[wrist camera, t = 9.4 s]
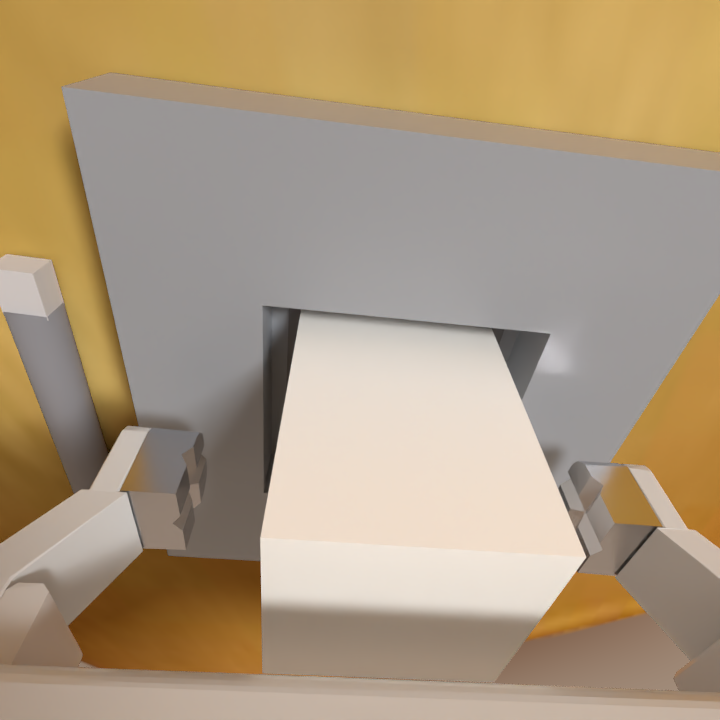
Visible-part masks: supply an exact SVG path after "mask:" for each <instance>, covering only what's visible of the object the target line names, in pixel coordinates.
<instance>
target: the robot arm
mask: <svg viewBox="0 0 720 720" xmlns="http://www.w3.org/2000/svg"><path fill="white" fill-rule="evenodd" d="M204 445H205V444H204V438H203V434H202V433H200V432H191V431H181V430H171V429H161V428H148V427H137V426H127V427H126V428H124V429H123V430H122V431H121V433H120V434H119V436H118V438H117V440H116V442H115V444H114V445H113V447H112V449H111V451H110V453H109V454H108V456H107V458H106V460H105V462H104V463H103V465H102V467H101V469H100V471H99V473H98V474H97V476H96V478H95V480H94V482H93V483H92V485H91V487H90V489H89V490H88V489H81V490H79V491H78V492H76V493H75V494H73V495H72V496H71V497H69V498H68V499H66V500H65V501H63V502H62V503H60V504H59V505H57V506H56V507H54V508H53V509H51V510H50V511H48V512H47V513H45V514H44V515H42V516H41V517H39V518H38V519H36V520H35V521H33V522H32V523H30V524H29V525H27V526H26V527H24V528H23V529H21V530H20V531H18V532H17V533H15V534H14V535H12V536H11V537H9V538H8V539H6V540H5V541H3V542H2V543H0V720H720V549H719V548H718V547H717V546H715V545H714V544H713V543H711V542H710V541H709V540H707V539H706V538H705V537H703V536H702V535H701V534H699V533H698V532H697V531H695V530H689V529H687V527H686V525H685V524H684V522H683V521H682V519H681V517H680V516H679V514H678V513H677V511H676V510H675V508H674V506H673V505H672V503H671V502H670V500H669V499H668V497H667V495H666V494H665V492H664V491H663V489H662V488H661V486H660V484H659V483H658V481H657V480H656V478H655V476H654V475H653V473H652V472H651V470H650V469H648V468H647V467H646V466H644V465H630V464H618V463H604V462H588V461H577V462H575V463H574V464H572V466H571V467H570V469H569V471H568V473H569V476H570V478H571V479H569V480H567V481H566V482H564V483H562V484H560V486H559V488H558V490H559V492H560V495H561V497H562V500H563V502H564V504H565V507H566V509H567V512H568V514H569V517H570V519H571V521H572V524H573V526H574V529H575V531H576V533H577V536H578V538H579V541H580V543H581V546H582V548H583V550H584V553H585V555H586V559H585V560H584V561H583V563H582V564H581V565H580V567H579V568H578V569H577V572H578V573H589V574H600V575H612V576H616V577H615V578H616V579H617V580H618V582H619V583H620V584H621V585H622V586H623V587H624V588H625V589H626V590H627V591H628V593H629V594H630V595H631V596H632V597H633V598H634V599H635V600H636V601H637V602H638V604H639V605H640V606H641V607H642V608H643V609H644V610H645V611H646V612H647V613H648V614H649V616H650V617H651V618H652V619H653V620H654V621H655V622H656V623H657V624H658V625H659V626H660V628H661V629H662V630H663V631H664V632H665V633H666V634H667V635H668V636H669V638H670V639H671V640H672V641H673V642H674V643H675V644H676V645H677V646H678V647H679V649H680V650H681V651H682V652H683V653H684V654H685V655H686V656H687V657H688V658H689V660H690V662H689V663H688V664H687V665H685V666H684V667H683V668H681V669H680V670H679V671H677V672H676V674H675V676H674V681H675V683H676V686H677V687H678V690H679V691H672V690H646V689H621V688H596V687H570V686H543V685H519V684H493V683H467V682H444V681H417V680H393V679H392V680H391V679H367V678H342V677H317V676H291V675H265V674H239V673H213V672H188V671H162V670H136V669H110V668H85V667H78V666H79V664H80V661H81V659H82V656H83V654H82V651H81V649H80V647H79V645H78V643H77V642H76V640H75V638H74V636H73V634H72V633H71V631H70V629H69V627H68V625H69V624H70V623H71V622H72V621H73V620H74V619H75V618H76V617H77V616H78V615H79V614H80V613H81V612H82V611H83V610H84V609H85V608H86V607H87V606H88V605H89V604H90V603H91V602H92V601H93V600H94V599H95V598H96V597H97V596H98V595H99V594H100V593H101V592H102V591H103V590H104V589H105V588H106V587H107V586H108V585H109V584H110V583H111V582H112V581H113V580H114V579H115V578H116V577H117V576H118V575H119V574H120V573H121V572H122V571H124V570H125V569H126V568H127V567H128V566H129V565H130V564H131V563H132V562H133V561H134V560H135V559H136V558H137V557H138V556H139V555H140V554H141V553H142V552H143V549H142V548H145V549H177V550H186V548H187V545H188V542H189V539H190V536H191V533H192V529H193V526H194V523H195V516H194V508H195V507H196V506H197V505H198V504H200V503H201V500H202V497H203V494H204V490H205V484H206V478H207V461H206V458H205V457H204V456H203V455H202V451H203V448H204Z"/></svg>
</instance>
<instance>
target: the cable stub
mask: <svg viewBox="0 0 720 720" xmlns="http://www.w3.org/2000/svg"><path fill="white" fill-rule="evenodd" d="M0 306H1V309H2V311H3V314H4V315H5V318H6V321H7V323H8V326H9V328H10V331H11V333H12V336H13V339H14V341H15V344H16V346H17V349H18V351H19V354H20V357H21V359H22V362H23V364H24V367H25V369H26V372H27V374H28V377H29V380H30V382H31V385H32V387H33V390H34V392H35V395H36V398H37V400H38V403H39V405H40V408H41V410H42V413H43V416H44V418H45V421H46V423H47V426H48V428H49V431H50V434H51V436H52V439H53V441H54V444H55V446H56V449H57V452H58V454H59V457H60V459H61V462H62V464H63V467H64V470H65V472H66V475H67V477H68V480H69V482H70V485H71V488H72V490H73V493H74V494H75V493H76V492H78V491H79V490H81V489H88V490H89V489H90V487H91V485H92V483H93V482H94V480H95V478H96V476H97V474H98V473H99V471H100V469H101V467H102V465H103V463H104V462H105V460H106V458H107V456H108V451H107V448H106V445H105V441H104V438H103V434H102V431H101V428H100V424H99V421H98V417H97V414H96V411H95V407H94V404H93V401H92V397H91V394H90V390H89V387H88V384H87V380H86V377H85V374H84V370H83V367H82V363H81V360H80V357H79V353H78V350H77V346H76V343H75V340H74V336H73V333H72V330H71V326H70V323H69V319H68V316H67V313H66V309H65V304H64V301H63V297H62V294H61V291H60V287H59V284H58V280H57V277H56V274H55V270H54V267H53V263H52V260H49V259H41V258H33V257H26V256H18V255H10V254H6V255H4V256H3V257H1V258H0Z"/></svg>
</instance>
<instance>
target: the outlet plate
mask: <svg viewBox="0 0 720 720" xmlns="http://www.w3.org/2000/svg"><path fill="white" fill-rule="evenodd" d="M62 91H63V96H64V100H65V105H66V109H67V113H68V118H69V122H70V127H71V131H72V135H73V140H74V144H75V149H76V153H77V157H78V162H79V166H80V171H81V175H82V179H83V184H84V188H85V193H86V197H87V201H88V206H89V210H90V215H91V219H92V223H93V228H94V232H95V236H96V241H97V245H98V250H99V254H100V258H101V263H102V267H103V272H104V276H105V280H106V285H107V289H108V294H109V298H110V302H111V307H112V311H113V316H114V320H115V324H116V329H117V333H118V338H119V342H120V346H121V351H122V355H123V360H124V364H125V368H126V373H127V377H128V382H129V386H130V390H131V395H132V399H133V404H134V408H135V412H136V417H137V421H138V426H139V427H148V428H161V429H171V430H181V431H191V432H200V433H202V434H203V438H204V444H205V445H204V448H203V451H202V455H203V456H204V457H205V458H206V461H207V478H206V484H205V490H204V494H203V497H202V500H201V503H200V504H198V505H197V506H196V507H195V508H194V516H195V523H194V526H193V529H192V533H191V536H190V539H189V542H188V545H187V548H186V550H177V549H167V553H168V556H181V557H199V558H216V559H234V560H251V561H261V548H260V537H261V531H262V525H263V520H264V514H265V509H266V503H267V498H268V492H269V486H270V481H271V475H272V470H273V464H274V458H275V453H276V447H277V442H278V436H279V431H280V425H281V419H282V414H283V408H284V403H285V397H286V391H287V386H288V380H289V375H290V369H291V364H292V358H293V352H294V347H295V341H296V336H297V330H298V324H299V319H300V313H301V309H304V310H314V311H324V312H335V313H345V314H355V315H365V316H375V317H386V318H396V319H406V320H416V321H426V322H437V323H447V324H457V325H467V326H478V327H488V328H492V331H493V333H494V335H495V338H496V340H497V343H498V345H499V347H500V350H501V352H502V355H503V357H504V360H505V362H506V364H507V367H508V369H509V372H510V374H511V376H512V379H513V381H514V384H515V386H516V389H517V391H518V393H519V396H520V398H521V401H522V403H523V405H524V408H525V410H526V413H527V415H528V418H529V420H530V422H531V425H532V427H533V430H534V432H535V434H536V437H537V439H538V442H539V444H540V447H541V449H542V451H543V454H544V456H545V459H546V461H547V463H548V466H549V468H550V471H551V473H552V476H553V478H554V480H555V483H556V485H557V488H559V486H560V484H562V483H564V482H566V481H567V480H569V479H571V478H570V476H569V473H568V471H569V469H570V467H571V466H572V464H574V463H575V462H577V461H588V462H604V463H610V462H611V460H612V459H613V457H614V456H615V454H616V452H617V451H618V449H619V448H620V446H621V445H622V443H623V442H624V440H625V439H626V437H627V436H628V434H629V433H630V431H631V429H632V428H633V426H634V425H635V423H636V422H637V420H638V419H639V417H640V416H641V414H642V413H643V411H644V409H645V408H646V406H647V405H648V403H649V402H650V400H651V399H652V397H653V396H654V394H655V393H656V391H657V390H658V388H659V386H660V385H661V383H662V382H663V380H664V379H665V377H666V376H667V374H668V373H669V371H670V370H671V368H672V366H673V365H674V363H675V362H676V360H677V359H678V357H679V356H680V354H681V353H682V351H683V350H684V348H685V347H686V345H687V343H688V342H689V340H690V339H691V337H692V336H693V334H694V333H695V331H696V330H697V328H698V327H699V325H700V323H701V322H702V320H703V319H704V317H705V316H706V314H707V313H708V311H709V310H710V308H711V307H712V305H713V304H714V302H715V300H716V299H717V297H718V296H719V294H720V153H718V152H710V151H703V150H695V149H688V148H680V147H672V146H665V145H657V144H650V143H642V142H634V141H627V140H619V139H612V138H604V137H596V136H589V135H581V134H574V133H566V132H558V131H551V130H543V129H536V128H528V127H520V126H513V125H505V124H498V123H490V122H482V121H475V120H467V119H460V118H452V117H444V116H437V115H429V114H422V113H414V112H406V111H399V110H391V109H384V108H376V107H368V106H361V105H353V104H346V103H338V102H330V101H323V100H315V99H308V98H300V97H292V96H285V95H277V94H270V93H262V92H254V91H247V90H239V89H232V88H224V87H216V86H209V85H201V84H193V83H186V82H178V81H171V80H163V79H155V78H148V77H140V76H133V75H125V74H117V73H107V74H104V75H100V76H97V77H94V78H90V79H87V80H83V81H80V82H76V83H73V84H69V85H66V86H62Z"/></svg>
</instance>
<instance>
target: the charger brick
mask: <svg viewBox="0 0 720 720" xmlns="http://www.w3.org/2000/svg"><path fill="white" fill-rule="evenodd" d="M260 548H261V611H262V673H268V674H294V675H319V676H345V677H370V678H372V677H373V678H396V679H421V680H422V679H423V680H447V681H472V682H495V680H496V679H497V678H498V676H499V675H500V673H501V672H502V671H503V670H504V668H505V667H506V666H507V664H508V663H509V662H510V660H511V659H512V657H513V656H514V655H515V653H516V652H517V651H518V649H519V648H520V647H521V645H522V644H523V643H524V641H525V640H526V639H527V637H528V636H529V634H530V633H531V632H532V630H533V629H534V628H535V626H536V625H537V624H538V622H539V621H540V620H541V618H542V617H543V615H544V614H545V613H546V611H547V610H548V609H549V607H550V606H551V605H552V603H553V602H554V601H555V599H556V598H557V596H558V595H559V594H560V592H561V591H562V590H563V588H564V587H565V586H566V584H567V583H568V582H569V580H570V579H571V578H572V576H573V575H574V573H575V572H576V571H577V569H578V568H579V567H580V565H581V564H582V563H583V561H584V560H585V559H586V555H585V553H584V550H583V548H582V546H581V543H580V541H579V538H578V536H577V533H576V531H575V529H574V526H573V524H572V521H571V519H570V517H569V514H568V512H567V509H566V507H565V504H564V502H563V500H562V497H561V495H560V492H559V490H558V488H557V485H556V483H555V480H554V478H553V476H552V473H551V471H550V468H549V466H548V463H547V461H546V459H545V456H544V454H543V451H542V449H541V447H540V444H539V442H538V439H537V437H536V434H535V432H534V430H533V427H532V425H531V422H530V420H529V418H528V415H527V413H526V410H525V408H524V405H523V403H522V401H521V398H520V396H519V393H518V391H517V389H516V386H515V384H514V381H513V379H512V376H511V374H510V372H509V369H508V367H507V364H506V362H505V360H504V357H503V355H502V352H501V350H500V347H499V345H498V343H497V340H496V338H495V335H494V333H493V331H492V328H488V327H478V326H467V325H457V324H447V323H437V322H426V321H416V320H406V319H396V318H386V317H375V316H365V315H355V314H345V313H335V312H324V311H314V310H304V309H301V313H300V319H299V324H298V330H297V336H296V341H295V347H294V352H293V358H292V364H291V369H290V375H289V380H288V386H287V391H286V397H285V403H284V408H283V414H282V419H281V425H280V431H279V436H278V442H277V447H276V453H275V458H274V464H273V470H272V475H271V481H270V486H269V492H268V498H267V503H266V509H265V514H264V520H263V525H262V531H261V537H260Z"/></svg>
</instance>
